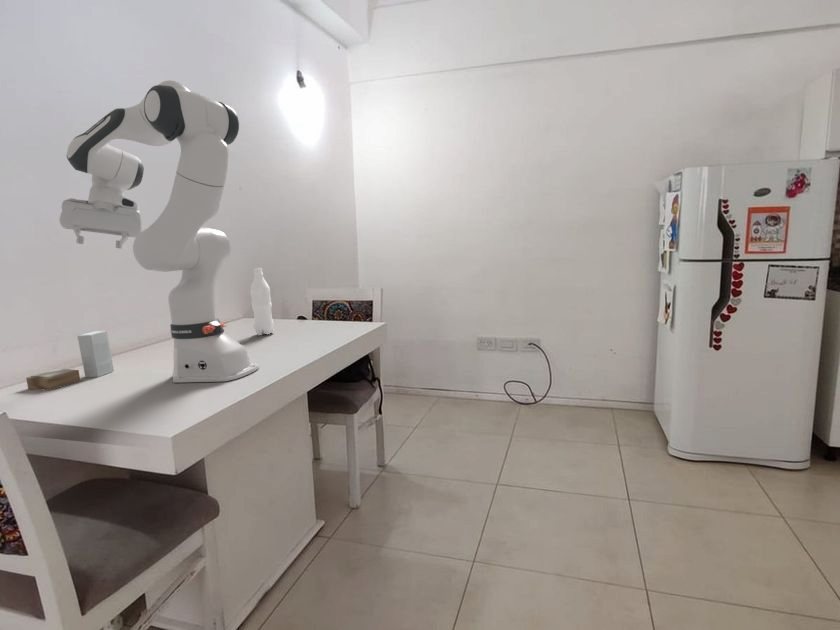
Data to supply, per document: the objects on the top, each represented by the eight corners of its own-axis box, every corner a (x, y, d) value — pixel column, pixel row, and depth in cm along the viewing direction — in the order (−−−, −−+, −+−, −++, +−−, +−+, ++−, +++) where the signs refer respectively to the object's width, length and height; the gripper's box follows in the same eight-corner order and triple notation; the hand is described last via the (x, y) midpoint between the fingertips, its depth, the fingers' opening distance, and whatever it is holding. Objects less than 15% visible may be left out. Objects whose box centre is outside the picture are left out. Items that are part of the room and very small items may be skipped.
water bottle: (268, 336, 179) (261, 268, 175) (251, 336, 181) (243, 269, 177) (278, 332, 186) (271, 267, 182) (261, 332, 188) (253, 267, 184)
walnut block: (80, 380, 131) (78, 369, 130) (50, 390, 123) (48, 377, 123) (59, 379, 133) (56, 368, 133) (28, 388, 126) (25, 376, 125)
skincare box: (101, 371, 140) (94, 330, 138) (114, 371, 139) (107, 330, 138) (84, 377, 134) (76, 335, 132) (97, 377, 133) (90, 335, 132)
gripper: (61, 191, 137) (53, 234, 132) (144, 204, 146) (139, 245, 141) (65, 203, 142) (57, 245, 138) (145, 214, 151) (140, 254, 147)
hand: (99, 245), depth 140 cm, fingers open, 8 cm apart
